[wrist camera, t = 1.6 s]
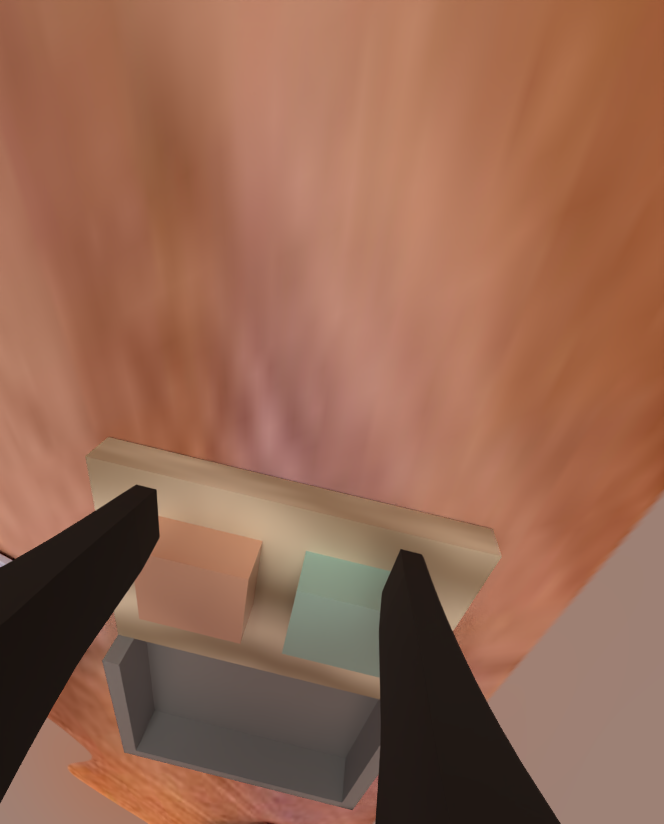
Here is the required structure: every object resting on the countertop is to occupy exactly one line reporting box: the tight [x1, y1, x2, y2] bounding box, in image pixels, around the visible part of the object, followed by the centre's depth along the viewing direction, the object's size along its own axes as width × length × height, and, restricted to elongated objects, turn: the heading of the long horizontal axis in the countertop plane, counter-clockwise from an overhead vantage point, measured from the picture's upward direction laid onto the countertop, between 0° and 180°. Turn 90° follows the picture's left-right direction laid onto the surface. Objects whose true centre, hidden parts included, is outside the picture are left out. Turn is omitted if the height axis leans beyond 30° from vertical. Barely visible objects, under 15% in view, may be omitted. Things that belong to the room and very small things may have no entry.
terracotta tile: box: [134, 516, 263, 644], centre depth 17 cm, size 5×5×2 cm
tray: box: [102, 635, 381, 810], centre depth 26 cm, size 14×18×3 cm
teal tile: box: [282, 551, 391, 678], centre depth 17 cm, size 5×5×2 cm
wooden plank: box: [85, 437, 502, 699], centre depth 20 cm, size 14×18×2 cm
